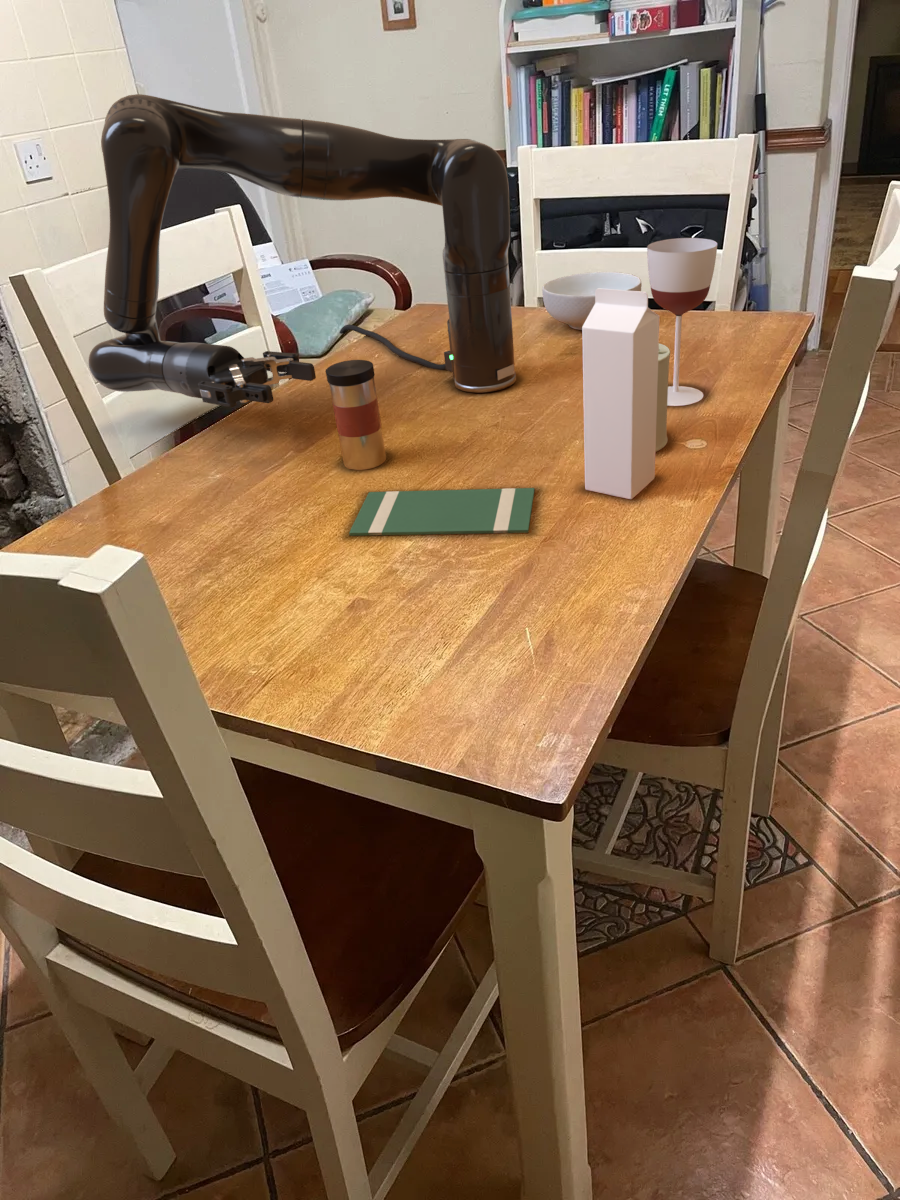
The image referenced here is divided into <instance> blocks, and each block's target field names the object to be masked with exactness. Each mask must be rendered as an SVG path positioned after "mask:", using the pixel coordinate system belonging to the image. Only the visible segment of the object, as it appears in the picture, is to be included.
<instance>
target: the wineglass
mask: <svg viewBox="0 0 900 1200" xmlns="http://www.w3.org/2000/svg"><path fill="white" fill-rule="evenodd" d="M717 251H718V242H717V241H715V240H713V239H709V238H702V237H701V238H699V237H680V238H679V237H678V238H668V239H662V240H657V241H654V242H651V243H650V244H648V245H647V246H646V254H647V257H646V258H647V272H648V280H649V286H650V292H651V296H652V299H653V301H654V302H655V303H656V304H657V305H658V306H659V307H660V308H662V309H664V310H666V311H668V312H669V313H672V314H674V315H675V328H674V329H675V330H674V333H675V334H674V355H673V378H672V379H673V381H672V385H671V386H670V385H668V398H667V407H668V406H669V407H681V406H687V405H692V404H696V403H698V402H699V401H701V400H702V399H703V398H704V392H702V391H701V390H699V389H697V388H694V387H690V386H684V385H680V367H681V346H682V345H681V343H682V319H683V315H684V314H686V313H688V312H690V311H692V310H694V309H695V308H697V307H699V306H700V305H701V304H703V303H704V302H705V300H706V298H707V297H708V295H709V292H710V289H711V285H712V281H713V276H714V272H715V266H716V260H717Z"/></svg>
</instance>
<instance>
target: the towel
mask: <svg viewBox="0 0 900 1200" xmlns="http://www.w3.org/2000/svg"><path fill="white" fill-rule="evenodd" d="M535 489H536V488H535V487H522V488H521V487H519V488H516V487H513V488H512V487H510V488H509V487H508V488H505V487H504V488H478V489H477V488H476V489H473V488H471V489H438V490H437V489H436V490H435V489H433V490H395V491H393V490H389V491H368V493H367V495H366V497H365V499H364V501H363V503H362V506H361V507H360V508H359V509H360V510H359V512H358V514H357V515H356V518H355V519H354V521H353V523H352V526H351V528H350V529H349V532H348V534H349V537H356V536H361V537H362V536H363V537H365V536H416V535H417V536H418V535H419V536H420V535H421V536H423V535H424V536H427V535H476V534H477V535H482V534H484V535H486V534H488V535H489V534H490V535H491V534H529V531H530V524H531V517H532V510H533V503H534V497H535V492H536V491H535Z"/></svg>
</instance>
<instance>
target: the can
mask: <svg viewBox="0 0 900 1200" xmlns="http://www.w3.org/2000/svg"><path fill="white" fill-rule="evenodd" d="M670 356H671V350H670V348H669V347H668V346H667V345H665V344H662V343H660V342H659V351H658V384H657V417H656V450H655V453H656V452H659V451H660V450H662V449H663V448H665V447H666V445H667V443H668V433H667V432H668V429H667V426H668V425H667V424H668V406H667V398H668V387H669V377H670V376H669V374H670Z"/></svg>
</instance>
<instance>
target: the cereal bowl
mask: <svg viewBox="0 0 900 1200" xmlns="http://www.w3.org/2000/svg"><path fill="white" fill-rule="evenodd" d="M598 288H601V289H615V290H628V291H641V292H642V279H641V278H640V277H638V276H637V275H634V274H630V273H626V272H618V271H593V272H592V271H591V272H582V273H574V274H570V275H564V276H561V277H557V278H554V279H551V280H549V281H547V282H545V283H543V286H542V288H541V291H542V301H543V305H544V308H545V310H546V312H547V313H548V314H549V315H550V316H551V318H553V319H554V320H556V321H558V322H560V323H563V324H566V325H568V326H569V327H570V328H571V329H574V330H578V331H582V327H583V325H584V323H585V321H586V319H587V317H588V315H589V314H590V312H591V310H592V308H593V306H594V305H595V291H596V289H598Z"/></svg>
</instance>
